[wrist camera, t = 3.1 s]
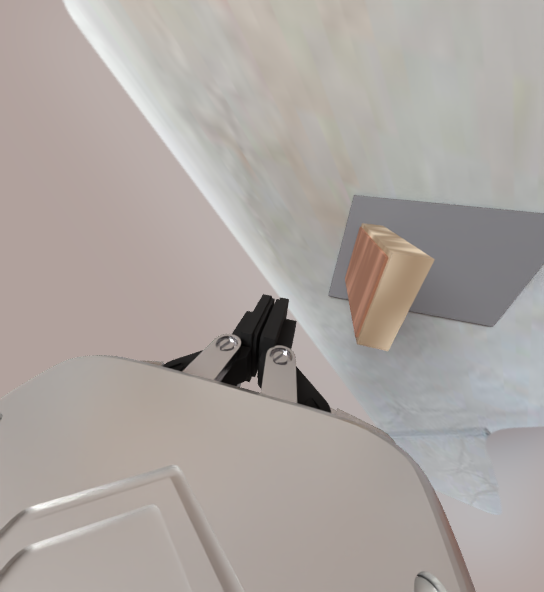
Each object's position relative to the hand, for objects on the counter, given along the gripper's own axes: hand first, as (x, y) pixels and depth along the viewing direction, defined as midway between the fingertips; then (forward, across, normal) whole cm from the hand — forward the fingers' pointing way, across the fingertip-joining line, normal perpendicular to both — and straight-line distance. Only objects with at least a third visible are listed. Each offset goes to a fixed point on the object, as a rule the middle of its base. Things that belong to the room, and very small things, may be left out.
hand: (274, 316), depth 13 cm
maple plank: (+18, -8, 0) cm, 20 cm away
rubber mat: (+18, -16, 0) cm, 24 cm away
